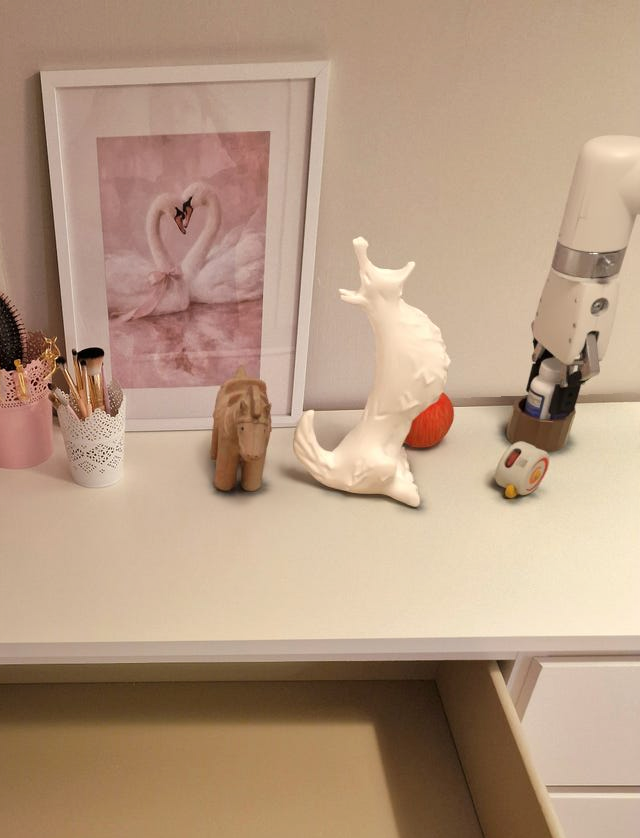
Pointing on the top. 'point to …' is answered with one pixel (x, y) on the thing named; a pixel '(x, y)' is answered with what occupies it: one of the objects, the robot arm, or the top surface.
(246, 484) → the figurine
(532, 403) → the pill bottle
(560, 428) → the holder
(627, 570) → the top surface
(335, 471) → the sculpture
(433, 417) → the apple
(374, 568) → the top surface
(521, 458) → the roller toy
